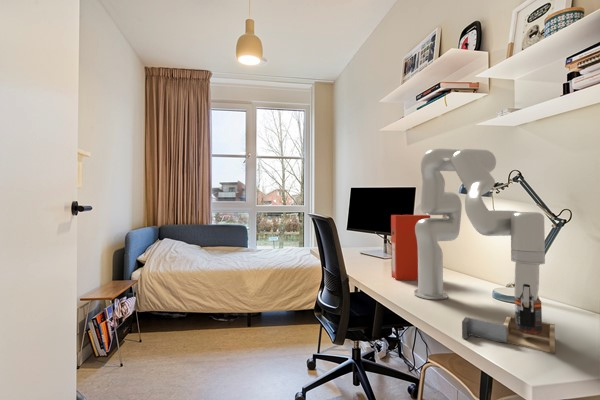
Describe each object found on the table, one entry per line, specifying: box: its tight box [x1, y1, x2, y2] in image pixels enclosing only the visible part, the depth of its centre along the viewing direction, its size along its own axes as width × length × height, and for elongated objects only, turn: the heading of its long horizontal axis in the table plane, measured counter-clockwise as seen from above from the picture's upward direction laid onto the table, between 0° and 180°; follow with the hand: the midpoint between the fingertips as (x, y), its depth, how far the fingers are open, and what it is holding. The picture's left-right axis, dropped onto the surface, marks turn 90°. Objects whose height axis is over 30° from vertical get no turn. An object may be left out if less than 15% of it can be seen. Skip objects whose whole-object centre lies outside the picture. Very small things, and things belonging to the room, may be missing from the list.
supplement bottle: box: [514, 296, 543, 335], centre depth 86 cm, size 6×6×11 cm
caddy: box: [502, 315, 556, 354], centre depth 86 cm, size 11×11×4 cm
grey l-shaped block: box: [461, 316, 508, 344], centre depth 85 cm, size 4×10×4 cm, turn 51°
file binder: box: [390, 214, 431, 281], centre depth 158 cm, size 8×17×32 cm, turn 90°
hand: (528, 321), depth 86 cm, fingers closed on supplement bottle, 6 cm apart
